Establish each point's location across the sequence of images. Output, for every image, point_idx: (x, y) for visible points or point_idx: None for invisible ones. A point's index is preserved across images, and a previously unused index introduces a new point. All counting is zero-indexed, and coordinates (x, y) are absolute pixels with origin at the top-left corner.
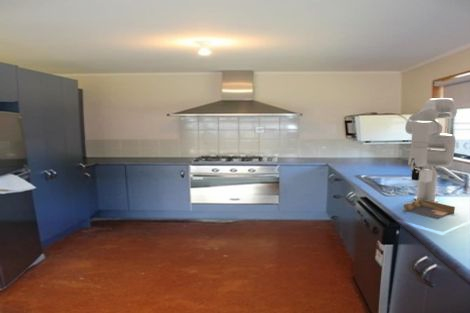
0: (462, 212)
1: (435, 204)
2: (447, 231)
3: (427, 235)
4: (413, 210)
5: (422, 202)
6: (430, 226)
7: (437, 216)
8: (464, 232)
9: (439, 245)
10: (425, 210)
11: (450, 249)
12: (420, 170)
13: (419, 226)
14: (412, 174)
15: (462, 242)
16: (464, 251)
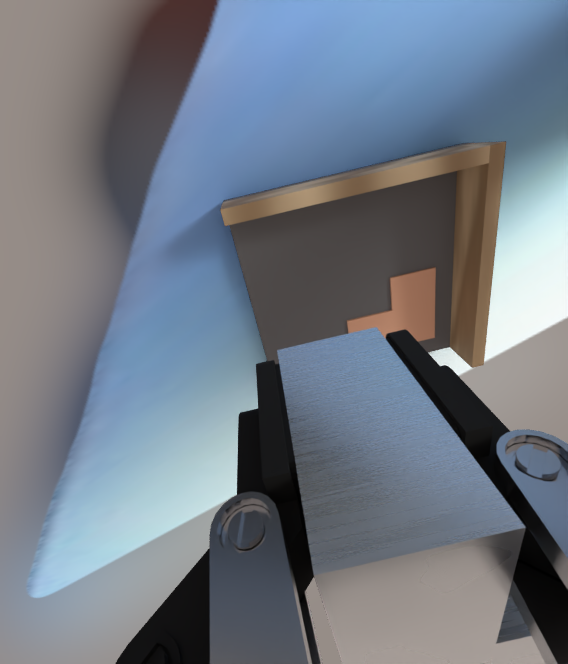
0: (546, 317)
1: (473, 265)
2: (202, 464)
3: (79, 476)
4: (292, 230)
5: (475, 167)
6: (180, 415)
7: None
8: None
9: (55, 533)
10: (368, 257)
11: (69, 553)
12: (342, 659)
13: (125, 404)
14: (264, 441)
15: (160, 529)
16: (103, 564)
